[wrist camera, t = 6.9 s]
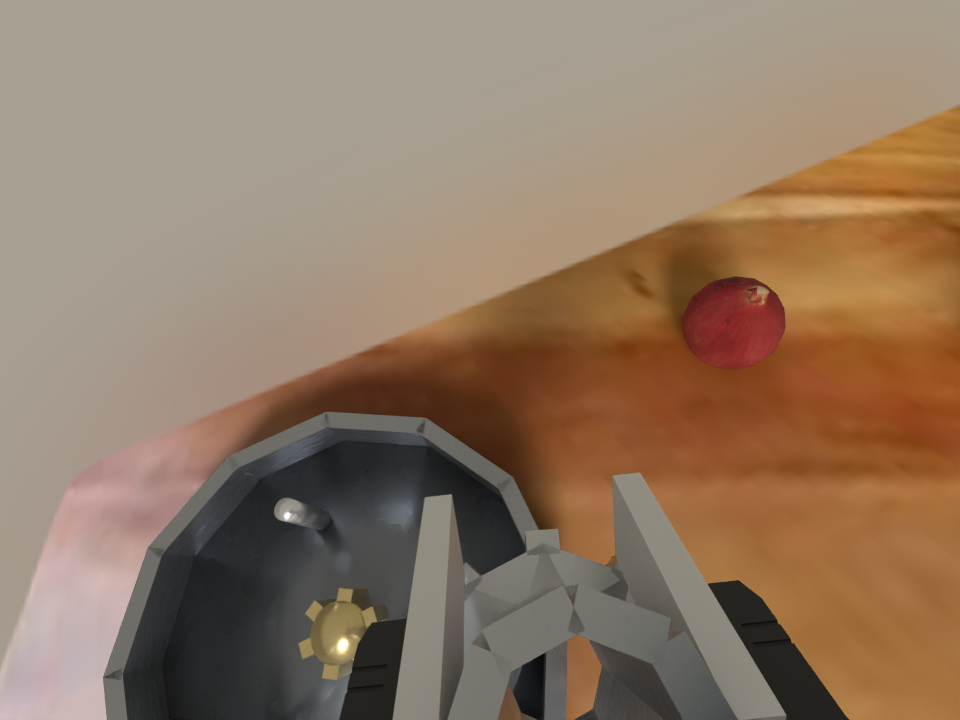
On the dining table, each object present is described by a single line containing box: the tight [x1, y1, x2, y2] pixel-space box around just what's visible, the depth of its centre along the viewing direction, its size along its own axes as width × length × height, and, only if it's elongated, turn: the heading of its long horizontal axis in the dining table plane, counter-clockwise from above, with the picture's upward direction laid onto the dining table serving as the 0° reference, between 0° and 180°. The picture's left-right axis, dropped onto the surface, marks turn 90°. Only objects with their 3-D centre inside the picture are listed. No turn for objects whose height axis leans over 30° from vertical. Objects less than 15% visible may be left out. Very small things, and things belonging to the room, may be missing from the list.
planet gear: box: [447, 529, 738, 720], centre depth 11 cm, size 8×8×9 cm
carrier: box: [103, 412, 567, 720], centre depth 25 cm, size 24×24×10 cm
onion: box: [683, 276, 785, 369], centre depth 31 cm, size 6×6×8 cm
